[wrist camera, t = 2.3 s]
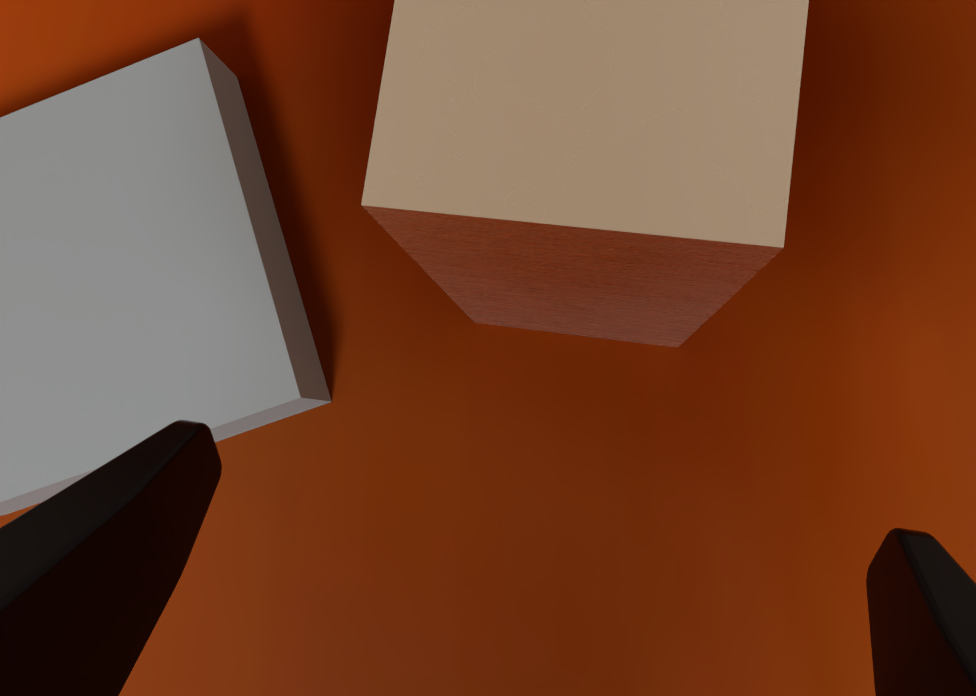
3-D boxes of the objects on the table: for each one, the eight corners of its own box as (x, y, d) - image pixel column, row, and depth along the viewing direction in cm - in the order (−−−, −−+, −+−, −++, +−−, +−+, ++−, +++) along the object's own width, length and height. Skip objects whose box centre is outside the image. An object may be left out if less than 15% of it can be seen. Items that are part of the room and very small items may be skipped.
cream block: (677, 347, 22) (783, 247, 10) (474, 322, 23) (361, 205, 11) (700, 148, 23) (824, -157, 11) (502, 132, 24) (422, -166, 12)
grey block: (335, 402, 24) (300, 397, 21) (15, 513, 25) (-61, 523, 22) (243, 83, 26) (198, 37, 23) (-51, 199, 27) (-130, 169, 24)
